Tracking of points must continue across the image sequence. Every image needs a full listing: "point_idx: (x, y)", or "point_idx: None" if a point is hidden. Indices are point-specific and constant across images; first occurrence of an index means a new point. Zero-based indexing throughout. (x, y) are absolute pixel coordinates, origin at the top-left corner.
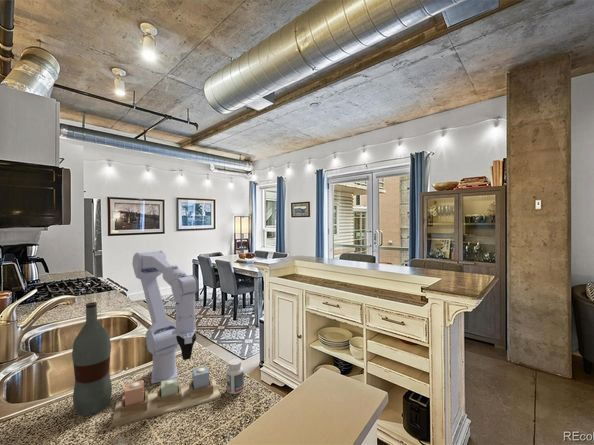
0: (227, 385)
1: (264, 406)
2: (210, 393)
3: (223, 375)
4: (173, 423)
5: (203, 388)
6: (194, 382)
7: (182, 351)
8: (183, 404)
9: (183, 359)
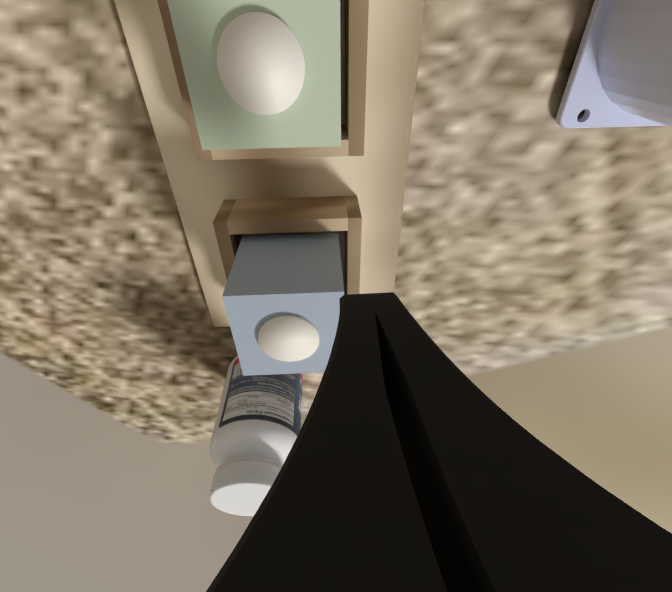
0: None
1: (126, 421)
2: None
3: None
4: (5, 74)
5: None
6: (232, 267)
7: (322, 388)
8: (179, 151)
9: (341, 299)
